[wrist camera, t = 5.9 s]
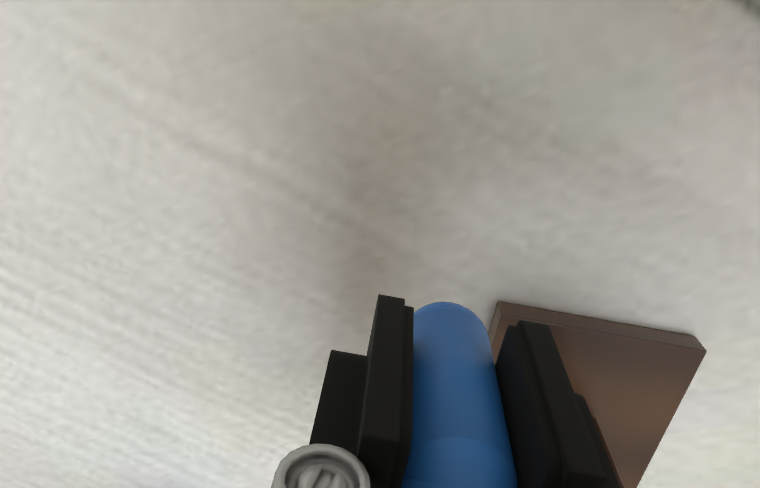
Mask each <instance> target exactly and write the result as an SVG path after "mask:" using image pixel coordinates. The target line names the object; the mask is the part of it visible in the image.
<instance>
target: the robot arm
mask: <svg viewBox="0 0 760 488" xmlns="http://www.w3.org/2000/svg"><path fill="white" fill-rule="evenodd" d="M404 305H405V299H402V298H396V297H391V296H385V295H380V294H379V296H378V300H377V305H376V310H375V315H374V320H373V325H372V330H371V335H370V341H369V346H368V351H367V356H364V355H358V354H352V353H347V352H341V351H335V350H331V353H330V357H329V361H328V366H327V370H326V374H325V378H324V383H323V387H322V391H321V396H320V400H319V404H318V409H317V413H316V417H315V421H314V426H313V430H312V434H311V439H310V443H309V445H306V446H302V447H300V448H298V449H296V450H294V451H292V452H290V453H289V454H288V455H287V456H286V457H285V458H284V459H283V460H282V461H281V462H280V464H279V466H278V468H277V470H276V472H275V475H274V479H273V482H272V486H271V488H401V486H402V482H403V478H404V474H405V470H406V466H407V463H408V459H409V454H410V448H411V441H412V419H413V325H414V308H413V307H407V306H404ZM495 370H496V375H497V380H498V385H499V390H500V395H501V400H502V404H503V409H504V414H505V419H506V424H507V429H508V434H509V439H510V444H511V449H512V454H513V459H514V464H515V469H516V474H517V481H518V488H620V485H619V483H618V480H617V478H616V475H615V473H614V470H613V468H612V465H611V463H610V460H609V458H608V455H607V453H606V450H605V448H604V445H603V443H602V440H601V438H600V435H599V433H598V430H597V428H596V425H595V423H594V420H593V418H592V415H591V413H590V410H589V408H588V405H587V403H586V401H585V399H584V397H583V396H582V395H580V394H579V393H574V391H573V388H572V385H571V383H570V380H569V377H568V375H567V372H566V370H565V367H564V364H563V362H562V359H561V356H560V354H559V351H558V349H557V346H556V343H555V341H554V338H553V335H552V333H551V330H550V328H549V326H548V325H547V324H542V323H537V322H531V321H525V320H520V321H519V322H518V323H517V325H516V326H514V325H509V326H508V327H507V330H506V332H505V336H504V339H503V342H502V345H501V348H500V351H499V354H498V357H497V361H496V364H495Z"/></svg>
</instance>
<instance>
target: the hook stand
mask: <svg viewBox="0 0 760 488" xmlns="http://www.w3.org/2000/svg"><path fill="white" fill-rule="evenodd" d="M520 320H525V321H531V322H537V323H542V324H547V325H548V326H549V328H550V330H551V333H552V335H553V338H554V341H555V343H556V346H557V349H558V351H559V354H560V356H561V359H562V362H563V364H564V367H565V370H566V372H567V375H568V377H569V380H570V383H571V385H572V388H573V391H574V393H579V394H580V395H582V396H583V397H584V399H585V401H586V403H587V405H588V408H589V410H590V413H591V415H592V418H593V420H594V423H595V425H596V428H597V430H598V433H599V435H600V438H601V440H602V443H603V445H604V448H605V450H606V453H607V455H608V458H609V460H610V463H611V465H612V468H613V470H614V473H615V475H616V478H617V480H618V483H619V485H620V488H637V486H638V484H639V482H640V480H641V478H642V476H643V474H644V472H645V470H646V468H647V466H648V464H649V462H650V460H651V458H652V457H653V455H654V453H655V451H656V449H657V447H658V445H659V443H660V441H661V439H662V437H663V435H664V433H665V431H666V429H667V427H668V425H669V424H670V422H671V420H672V418H673V416H674V414H675V412H676V410H677V408H678V406H679V404H680V402H681V400H682V398H683V396H684V394H685V393H686V391H687V389H688V387H689V385H690V383H691V381H692V379H693V377H694V375H695V373H696V371H697V369H698V367H699V365H700V363H701V361H702V360H703V358H704V356H705V354H706V349H705V348H704V347H703V346H702V344H701V343H700V342H699V341H698V339H697V338H696V337H694V336H689V335H683V334H678V333H672V332H666V331H661V330H655V329H650V328H644V327H638V326H633V325H627V324H622V323H616V322H610V321H605V320H599V319H594V318H588V317H582V316H577V315H571V314H566V313H560V312H554V311H549V310H543V309H538V308H532V307H526V306H521V305H515V304H510V303H504V302H498V304H497V308H496V311H495V314H494V317H493V321H492V324H491V327H490V331H489V334H488V336H489V340H490V345H491V350H492V355H493V360H494V365H495V364H496V361H497V357H498V354H499V351H500V348H501V345H502V342H503V339H504V336H505V332H506V330H507V327H508V326H509V325H514V326H516V325H517V323H518V322H519V321H520Z"/></svg>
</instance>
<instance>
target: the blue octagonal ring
mask: <svg viewBox="0 0 760 488" xmlns="http://www.w3.org/2000/svg"><path fill="white" fill-rule="evenodd" d="M401 488H518V481H517V474H516V469H515V464H514V459H513V454H512V449H511V444H510V439H509V434H508V429H507V424H506V419H505V414H504V409H503V404H502V400H501V395H500V390H499V385H498V380H497V375H496V370H495V365H494V360H493V355H492V350H491V345H490V340H489V336H488V334H487V331H486V328H485V327H484V325H483V323H482V322H481V320H480V319H479V318H478V317H477V316H476V315H475V314H474V313H473V312H472V311H470V310H469V309H467V308H465V307H463V306H461V305H458V304H455V303H451V302H436V303H432V304H429V305H426V306H424V307H422V308H420V309H419V310H417V311H416V312H414V325H413V419H412V441H411V448H410V454H409V459H408V463H407V466H406V470H405V474H404V478H403V482H402V486H401Z"/></svg>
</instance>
